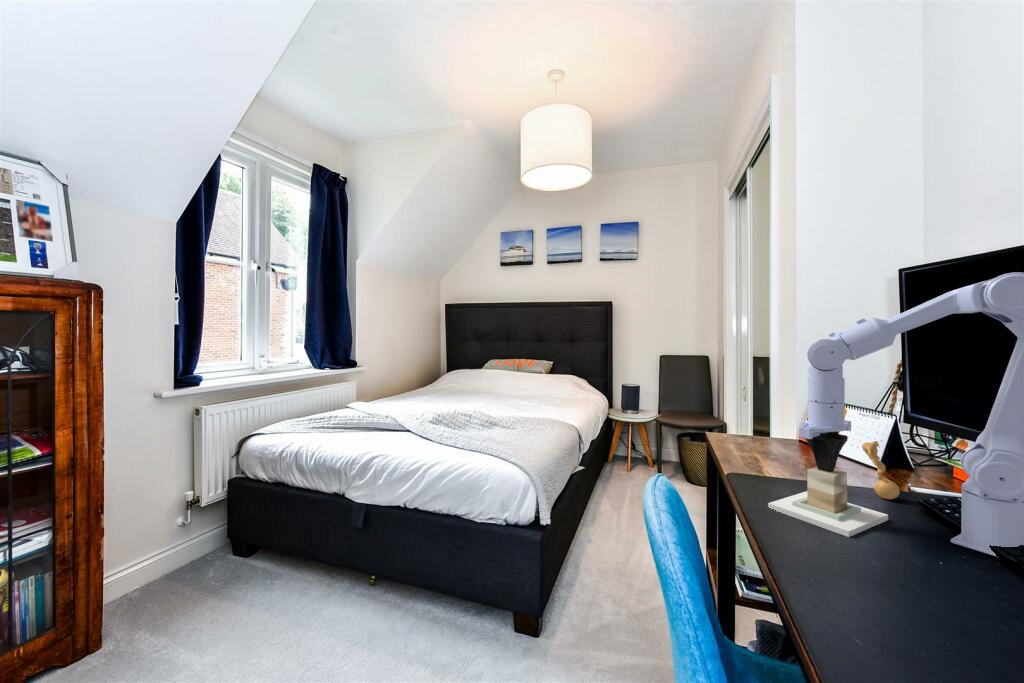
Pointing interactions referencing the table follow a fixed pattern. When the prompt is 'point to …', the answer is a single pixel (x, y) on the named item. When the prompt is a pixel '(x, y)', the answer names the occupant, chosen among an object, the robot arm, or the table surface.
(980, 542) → the robot arm
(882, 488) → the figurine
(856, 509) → the collar board
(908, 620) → the table surface
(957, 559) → the table surface
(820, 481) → the block stack
